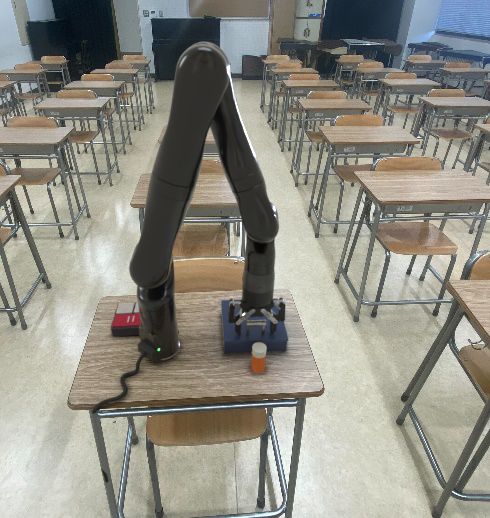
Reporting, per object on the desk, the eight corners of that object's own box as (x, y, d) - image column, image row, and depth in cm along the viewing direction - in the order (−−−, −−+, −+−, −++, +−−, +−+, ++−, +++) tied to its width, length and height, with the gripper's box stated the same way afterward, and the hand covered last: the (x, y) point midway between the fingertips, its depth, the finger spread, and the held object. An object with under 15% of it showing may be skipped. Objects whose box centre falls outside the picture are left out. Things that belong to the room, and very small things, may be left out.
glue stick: (259, 377, 99) (261, 355, 95) (248, 370, 101) (249, 348, 97) (267, 368, 101) (269, 346, 97) (256, 362, 103) (257, 340, 99)
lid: (288, 341, 102) (290, 326, 99) (224, 343, 102) (224, 328, 99) (277, 300, 116) (279, 285, 113) (221, 302, 115) (221, 287, 112)
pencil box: (285, 353, 106) (287, 339, 103) (223, 355, 105) (223, 341, 102) (276, 314, 119) (277, 300, 116) (221, 316, 118) (221, 302, 115)
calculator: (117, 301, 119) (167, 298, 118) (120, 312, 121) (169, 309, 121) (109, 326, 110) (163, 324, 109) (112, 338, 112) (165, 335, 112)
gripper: (229, 293, 91) (229, 343, 100) (291, 291, 91) (285, 341, 100) (227, 274, 97) (227, 323, 106) (285, 272, 97) (280, 321, 106)
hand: (255, 332), depth 103 cm, fingers open, 8 cm apart
